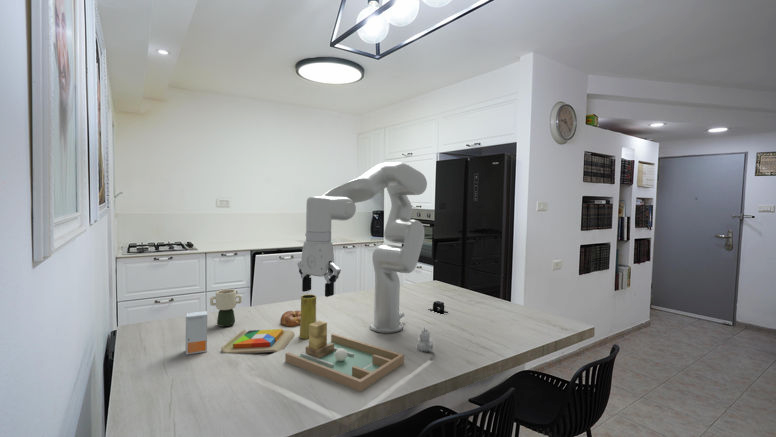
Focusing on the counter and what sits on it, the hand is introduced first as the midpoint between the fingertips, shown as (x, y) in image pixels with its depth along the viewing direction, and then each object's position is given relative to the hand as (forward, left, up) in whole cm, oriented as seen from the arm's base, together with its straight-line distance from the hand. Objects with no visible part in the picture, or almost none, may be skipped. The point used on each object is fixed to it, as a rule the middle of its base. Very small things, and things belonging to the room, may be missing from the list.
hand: (317, 293), depth 111 cm
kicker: (0, +1, -18) cm, 18 cm away
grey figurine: (-23, +25, -20) cm, 40 cm away
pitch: (0, +11, -20) cm, 23 cm away
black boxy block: (-66, +8, -21) cm, 69 cm away
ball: (0, +10, -19) cm, 21 cm away
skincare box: (+20, -33, -20) cm, 43 cm away
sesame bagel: (-17, -31, -20) cm, 41 cm away
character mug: (+1, -48, -20) cm, 52 cm away
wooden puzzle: (+4, -23, -21) cm, 31 cm away
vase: (-10, -15, -20) cm, 27 cm away
